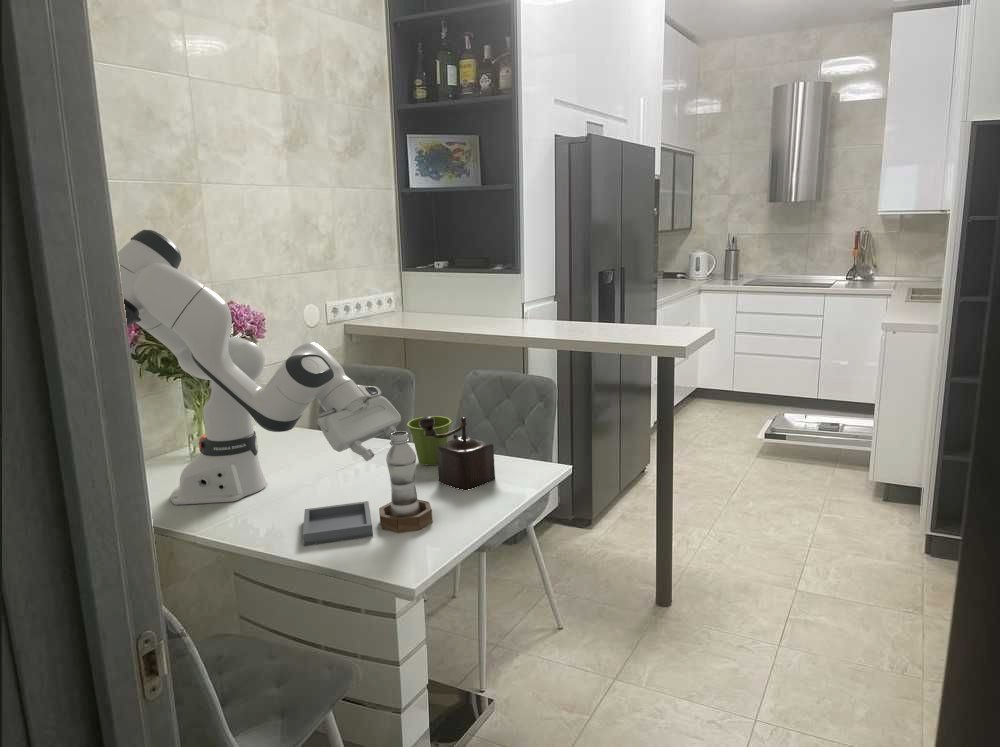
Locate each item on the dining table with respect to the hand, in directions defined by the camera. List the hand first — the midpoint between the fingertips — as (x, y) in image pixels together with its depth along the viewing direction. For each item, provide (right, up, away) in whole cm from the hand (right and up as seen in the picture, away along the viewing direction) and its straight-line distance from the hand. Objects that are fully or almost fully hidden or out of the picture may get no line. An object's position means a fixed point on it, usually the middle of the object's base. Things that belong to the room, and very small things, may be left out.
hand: (385, 452), depth 160 cm
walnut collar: (+4, -15, +2) cm, 16 cm away
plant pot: (+6, -7, +41) cm, 42 cm away
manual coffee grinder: (+15, -11, +24) cm, 30 cm away
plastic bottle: (+4, -16, +2) cm, 16 cm away
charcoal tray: (-10, -16, +1) cm, 19 cm away
